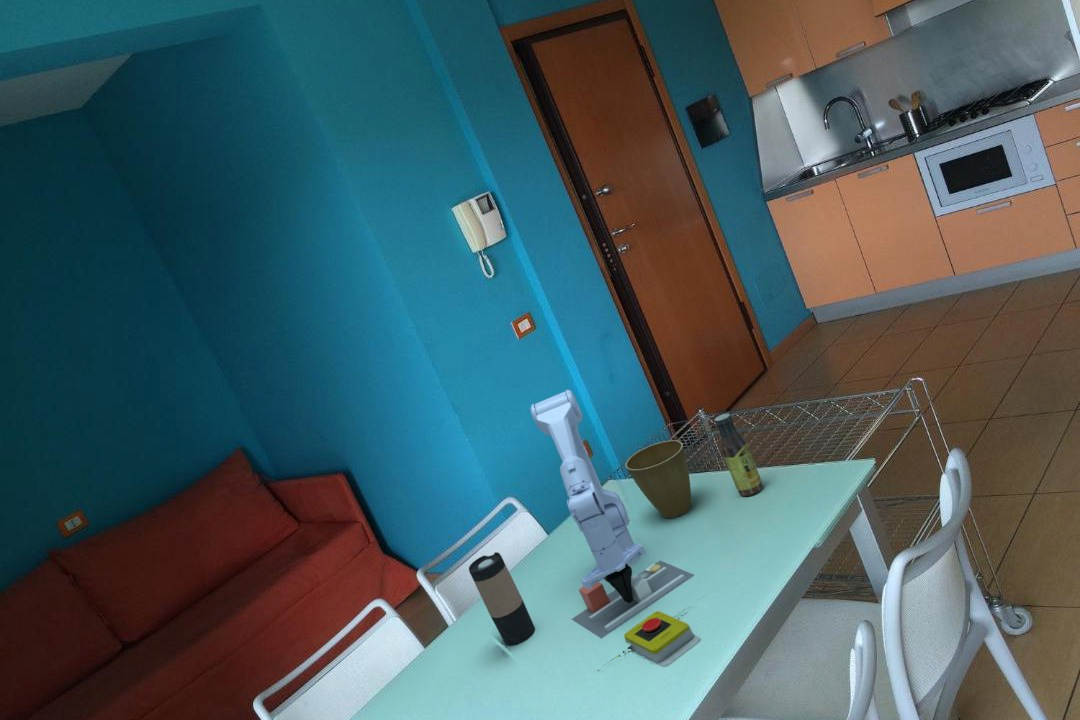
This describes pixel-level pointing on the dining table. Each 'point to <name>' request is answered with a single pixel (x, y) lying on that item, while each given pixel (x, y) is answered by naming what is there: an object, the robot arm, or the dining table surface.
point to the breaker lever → (640, 588)
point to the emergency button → (661, 638)
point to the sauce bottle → (738, 457)
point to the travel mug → (502, 599)
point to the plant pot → (663, 477)
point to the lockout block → (595, 597)
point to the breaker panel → (618, 611)
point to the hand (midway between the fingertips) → (629, 600)
